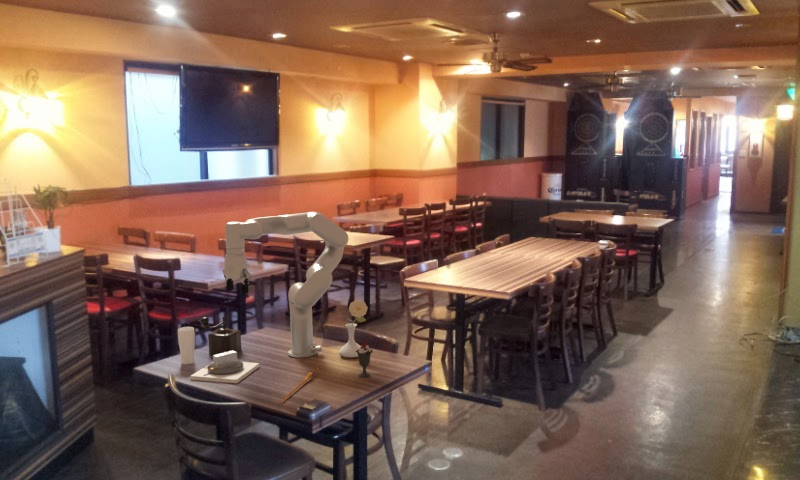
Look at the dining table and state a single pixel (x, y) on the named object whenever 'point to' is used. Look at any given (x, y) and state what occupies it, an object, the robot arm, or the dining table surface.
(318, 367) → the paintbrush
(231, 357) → the dial
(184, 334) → the drinking glass
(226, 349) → the coffee grinder
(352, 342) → the flower in vase
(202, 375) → the dial plate
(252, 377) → the dining table surface
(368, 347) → the sundae
